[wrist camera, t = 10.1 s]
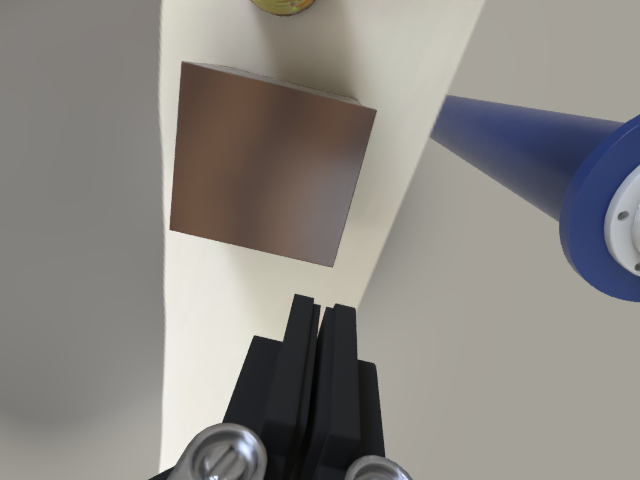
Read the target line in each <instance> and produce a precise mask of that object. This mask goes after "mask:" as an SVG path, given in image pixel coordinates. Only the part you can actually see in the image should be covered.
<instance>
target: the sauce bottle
mask: <svg viewBox="0 0 640 480" xmlns="http://www.w3.org/2000/svg"><path fill="white" fill-rule="evenodd" d="M250 1H251V2H252V3H254V4H255V5H256V6H258V7H259V8H261V9H262V10H264V11H267V12H269V13H272V14H274V15H277V16H291V15H294V14H297V13H299V12H301V11H303V10H304V9H307V8H309V7H310V6H311V5H312V4H313V2H314V1H315V0H250Z"/></svg>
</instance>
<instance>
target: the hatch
mask: <svg viewBox="0 0 640 480" xmlns="http://www.w3.org/2000/svg"><path fill="white" fill-rule="evenodd" d="M376 112H377V110H376V109H373V108H369V107H365V106H361V105H357V104H353V103H349V102H345V101H341V100H337V99H333V98H329V97H325V96H321V95H317V94H313V93H309V92H305V91H301V90H298V89H294V88H290V87H286V86H282V85H278V84H274V83H270V82H266V81H262V80H258V79H254V78H250V77H246V76H242V75H238V74H234V73H230V72H226V71H222V70H218V69H214V68H210V67H206V66H202V65H198V64H195V63H191V62H185V61H182V64H181V78H180V91H179V105H178V119H177V133H176V147H175V160H174V174H173V188H172V202H171V216H170V230H172V231H177V232H181V233H185V234H189V235H194V236H198V237H202V238H207V239H211V240H215V241H220V242H224V243H228V244H233V245H237V246H241V247H246V248H250V249H254V250H259V251H263V252H267V253H272V254H276V255H280V256H285V257H289V258H293V259H298V260H302V261H306V262H311V263H315V264H319V265H324V266H328V267H333V265H334V262H335V258H336V255H337V251H338V248H339V244H340V240H341V237H342V233H343V230H344V226H345V223H346V219H347V215H348V212H349V208H350V205H351V201H352V198H353V194H354V190H355V187H356V183H357V180H358V176H359V173H360V169H361V165H362V162H363V158H364V155H365V151H366V148H367V144H368V140H369V137H370V133H371V130H372V126H373V123H374V119H375V115H376Z"/></svg>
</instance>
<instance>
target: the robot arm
mask: <svg viewBox="0 0 640 480" xmlns="http://www.w3.org/2000/svg"><path fill="white" fill-rule="evenodd" d="M604 237H605V242H606V245H607V248H608V251H609V252H610V254H611V255H612V257H613V258H614V260H615V261H616V262H618V263H619V264H620V265H621V266H622V267H623V268H625V269H627V270H628V271H630V272H631V273H633V274H635V275H637V276H640V165H639V166H638V167H637V168H636V169H635V170H633V171H632V172H631V173H630V174H629V175H628V176H627V178H626V179H625V180H624V181H623V183H622V184H621V185H620V187H619V188H618V189H617V191H616V193H615V195H614V196H613V198H612V200H611V202H610V204H609V207H608V210H607V213H606V216H605V223H604ZM313 303H314V298H311V297H307V296H303V295H298V294H295V295H294V299H293V303H292V307H291V311H290V315H289V319H288V323H287V327H286V331H285V335H284V340H283V342H281V341H276V340H272V339H268V338H264V337H259V336H255V335H254V337H253V339H252V342H251V345H250V347H249V350H248V353H247V356H246V358H245V361H244V364H243V367H242V369H241V372H240V375H239V378H238V380H237V383H236V386H235V389H234V391H233V394H232V397H231V400H230V403H229V405H228V408H227V411H226V414H225V416H224V419H223V422H222V423H219V424H216V425H213V426H210V427H207V428H206V429H204V430H203V431H201V432H200V433H198V434H197V435H196V436H195V437H194V438H193V440H192V441H191V442H190V443H189V444H188V446H187V447H186V449H185V451H184V452H183V454H182V455H181V457H180V459H179V460H178V462H177V464H176V465H175V466H174V467H172V468H170V469H168V470H166V471H164V472H162V473H160V474H158V475H156V476H154V477H153V478H151V479H149V480H412V478H411V477H410V476H409V474H408V473H407V472H406V471H405V470H404V469H403V468H402V467H400V466H399V465H398V464H397V463H395V462H393V461H391V460H389V459H387V458H385V449H384V439H383V430H382V419H381V410H380V400H379V390H378V380H377V371H376V366H375V364H374V363H370V362H366V361H362V360H358V359H357V334H356V310H355V308H353V307H349V306H345V305H340V304H336V303H335V305H334V308H330V307H326V309H325V313H324V316H323V320H322V323H321V326H320V330H319V333H318V325H319V316H320V308H321V305H317V304H313ZM317 334H318V337H317Z"/></svg>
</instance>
